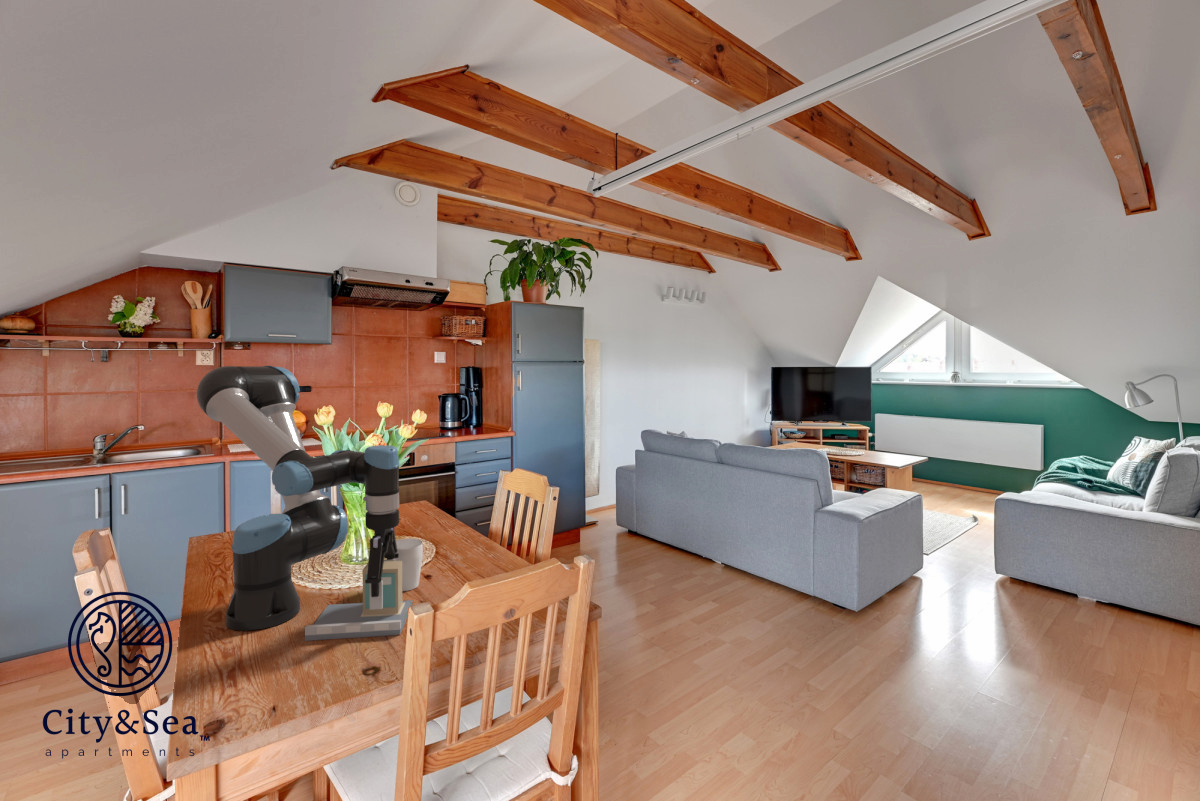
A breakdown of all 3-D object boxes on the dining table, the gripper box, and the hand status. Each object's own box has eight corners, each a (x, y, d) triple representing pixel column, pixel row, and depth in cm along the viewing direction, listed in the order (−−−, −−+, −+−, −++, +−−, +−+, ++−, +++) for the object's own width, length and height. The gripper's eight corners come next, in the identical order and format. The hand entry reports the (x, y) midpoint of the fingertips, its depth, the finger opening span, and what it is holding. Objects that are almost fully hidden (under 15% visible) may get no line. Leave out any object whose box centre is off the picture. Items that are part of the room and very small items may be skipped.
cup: (411, 594, 140) (411, 550, 139) (381, 591, 142) (380, 547, 141) (429, 581, 149) (429, 539, 148) (400, 578, 150) (400, 537, 150)
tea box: (362, 615, 125) (362, 570, 125) (368, 605, 130) (368, 562, 130) (398, 613, 127) (397, 569, 126) (402, 603, 132) (402, 560, 131)
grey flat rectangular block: (304, 641, 116) (304, 628, 116) (328, 609, 131) (328, 597, 131) (400, 635, 119) (399, 622, 119) (412, 604, 134) (412, 593, 134)
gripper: (378, 497, 139) (379, 576, 140) (350, 526, 114) (351, 621, 116) (408, 496, 140) (409, 575, 141) (386, 525, 115) (387, 619, 117)
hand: (383, 596), depth 128 cm, fingers open, 13 cm apart
